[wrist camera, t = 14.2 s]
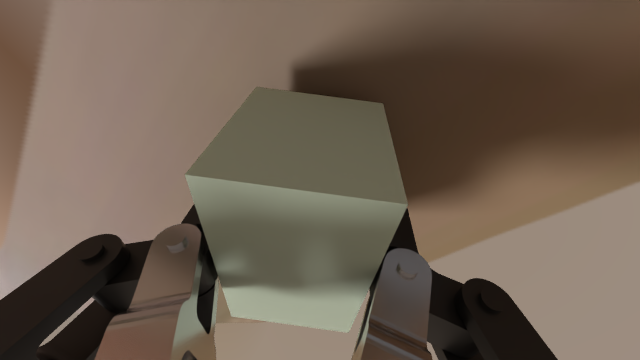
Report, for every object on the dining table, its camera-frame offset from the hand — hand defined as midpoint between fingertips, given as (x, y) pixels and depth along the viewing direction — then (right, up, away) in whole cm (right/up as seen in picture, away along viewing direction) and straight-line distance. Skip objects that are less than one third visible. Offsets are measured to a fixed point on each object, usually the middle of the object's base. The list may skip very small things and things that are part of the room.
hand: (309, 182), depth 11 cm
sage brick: (0, 0, +1) cm, 1 cm away
